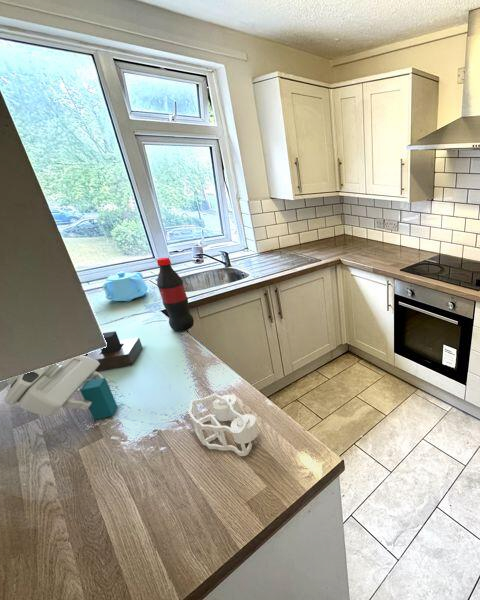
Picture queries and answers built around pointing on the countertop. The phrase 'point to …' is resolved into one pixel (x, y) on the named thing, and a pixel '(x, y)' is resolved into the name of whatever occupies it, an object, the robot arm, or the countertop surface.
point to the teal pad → (99, 398)
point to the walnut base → (118, 355)
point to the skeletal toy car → (224, 410)
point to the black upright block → (111, 342)
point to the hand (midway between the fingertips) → (98, 394)
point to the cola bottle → (174, 296)
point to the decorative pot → (124, 286)
